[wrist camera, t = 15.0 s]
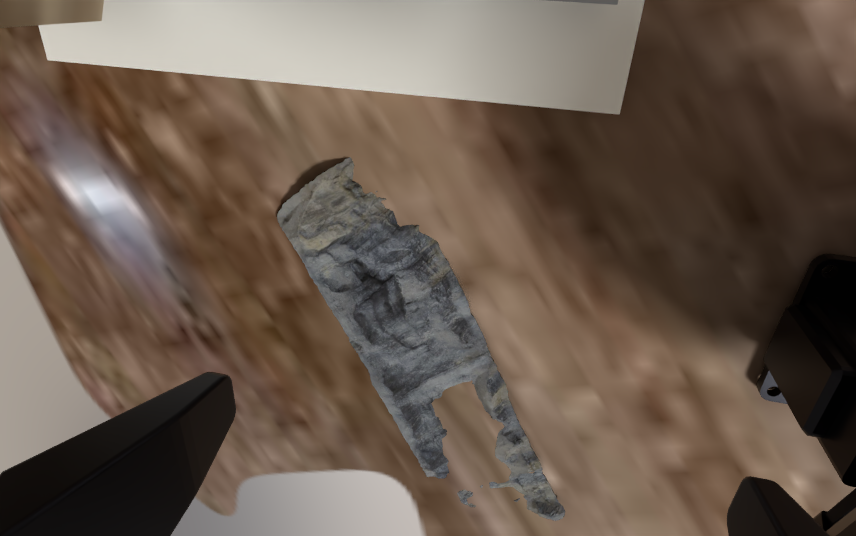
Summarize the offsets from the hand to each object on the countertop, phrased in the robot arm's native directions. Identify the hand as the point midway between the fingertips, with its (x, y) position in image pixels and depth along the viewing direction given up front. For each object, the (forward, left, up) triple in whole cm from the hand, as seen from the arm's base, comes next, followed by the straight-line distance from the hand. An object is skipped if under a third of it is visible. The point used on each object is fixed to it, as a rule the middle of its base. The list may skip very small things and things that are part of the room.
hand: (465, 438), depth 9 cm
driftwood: (+3, +9, -14) cm, 17 cm away
